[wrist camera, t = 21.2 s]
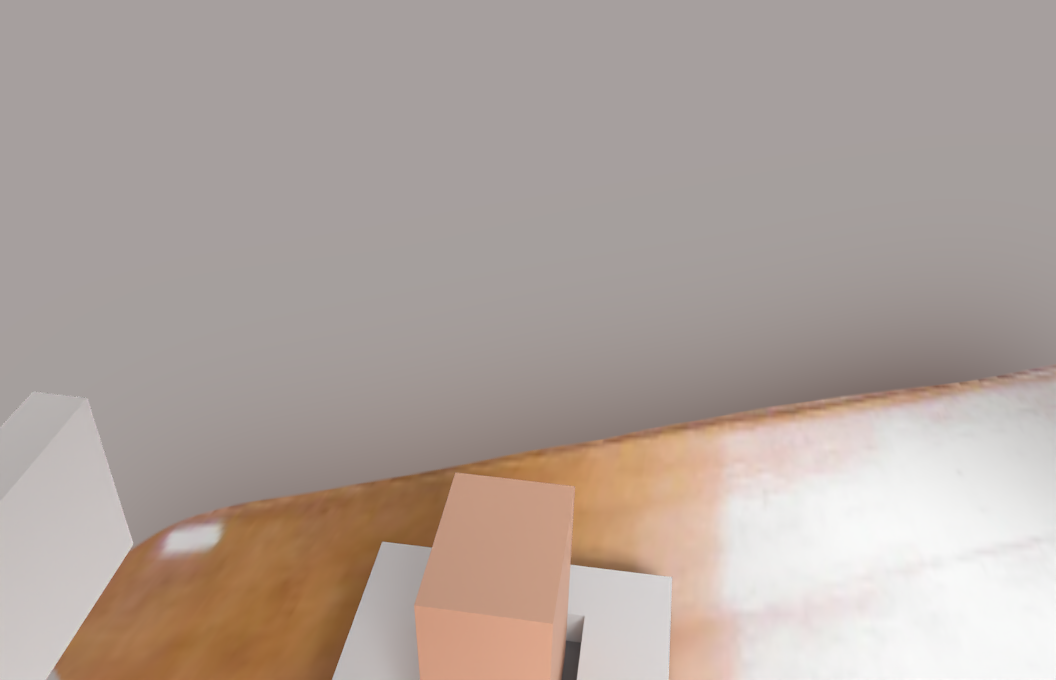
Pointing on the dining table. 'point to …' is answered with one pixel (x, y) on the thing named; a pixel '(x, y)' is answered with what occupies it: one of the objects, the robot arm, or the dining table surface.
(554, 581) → the peach block
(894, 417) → the dining table surface
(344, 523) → the dining table surface
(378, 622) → the pocket plate
